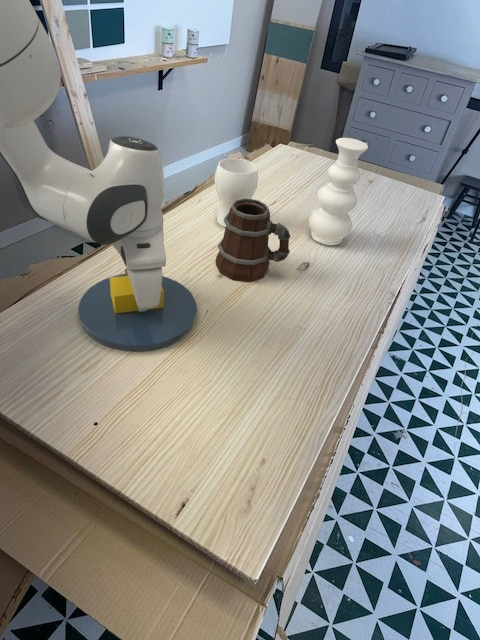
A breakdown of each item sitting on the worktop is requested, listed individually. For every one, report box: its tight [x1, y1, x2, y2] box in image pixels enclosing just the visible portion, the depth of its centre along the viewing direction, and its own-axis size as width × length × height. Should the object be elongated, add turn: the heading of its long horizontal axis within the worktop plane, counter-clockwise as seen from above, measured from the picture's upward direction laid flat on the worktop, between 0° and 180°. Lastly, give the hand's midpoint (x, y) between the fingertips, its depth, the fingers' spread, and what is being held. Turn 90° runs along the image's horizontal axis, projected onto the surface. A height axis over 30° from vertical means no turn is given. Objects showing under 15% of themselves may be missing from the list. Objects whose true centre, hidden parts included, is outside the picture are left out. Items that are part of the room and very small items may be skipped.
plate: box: [77, 273, 198, 352], centre depth 89 cm, size 22×22×2 cm
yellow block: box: [110, 276, 164, 313], centre depth 88 cm, size 9×6×4 cm, turn 110°
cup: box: [214, 157, 259, 228], centre depth 117 cm, size 11×11×15 cm
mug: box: [215, 198, 291, 283], centre depth 101 cm, size 16×12×15 cm
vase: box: [308, 137, 369, 246], centre depth 113 cm, size 11×11×25 cm
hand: (138, 297), depth 89 cm, fingers closed on yellow block, 6 cm apart
